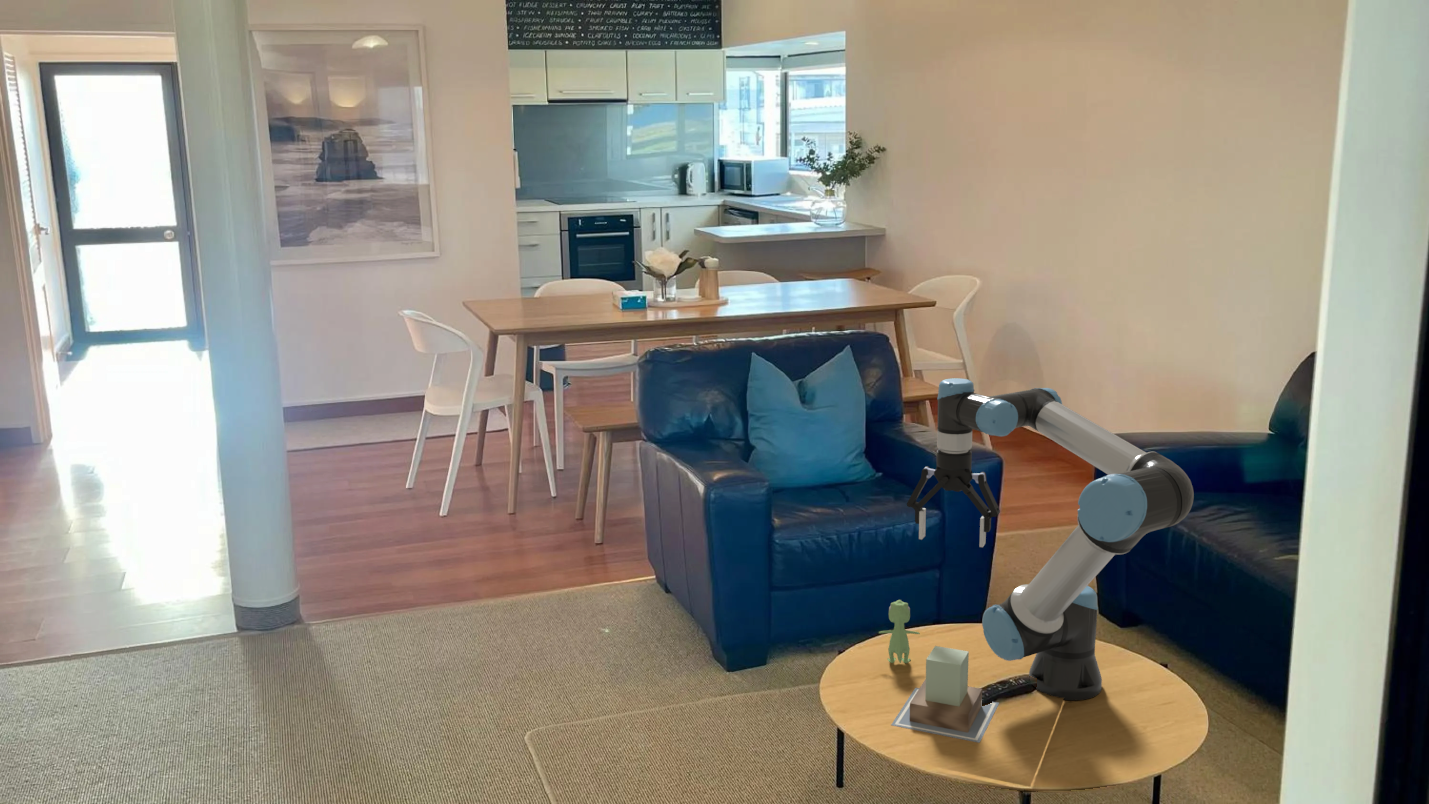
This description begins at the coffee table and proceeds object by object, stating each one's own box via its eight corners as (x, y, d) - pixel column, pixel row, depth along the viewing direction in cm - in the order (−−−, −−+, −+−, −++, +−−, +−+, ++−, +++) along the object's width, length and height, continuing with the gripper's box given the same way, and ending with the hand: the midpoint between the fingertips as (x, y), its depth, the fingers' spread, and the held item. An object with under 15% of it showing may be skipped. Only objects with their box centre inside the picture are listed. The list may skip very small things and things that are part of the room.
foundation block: (981, 706, 245) (982, 688, 245) (968, 732, 235) (968, 714, 234) (925, 695, 250) (925, 678, 250) (909, 721, 240) (909, 703, 239)
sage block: (967, 691, 243) (968, 651, 241) (959, 706, 237) (960, 665, 235) (934, 685, 246) (935, 645, 244) (925, 700, 240) (926, 659, 238)
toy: (899, 654, 272) (898, 593, 269) (923, 665, 266) (923, 602, 263) (876, 662, 268) (876, 600, 265) (900, 674, 262) (900, 610, 259)
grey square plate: (999, 705, 247) (999, 702, 247) (979, 745, 231) (979, 742, 231) (915, 690, 254) (915, 687, 254) (890, 727, 239) (891, 724, 239)
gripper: (1015, 450, 255) (1011, 543, 260) (903, 440, 266) (902, 529, 270) (1008, 459, 249) (1004, 554, 253) (894, 448, 259) (892, 539, 264)
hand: (951, 541), depth 262 cm, fingers open, 13 cm apart
